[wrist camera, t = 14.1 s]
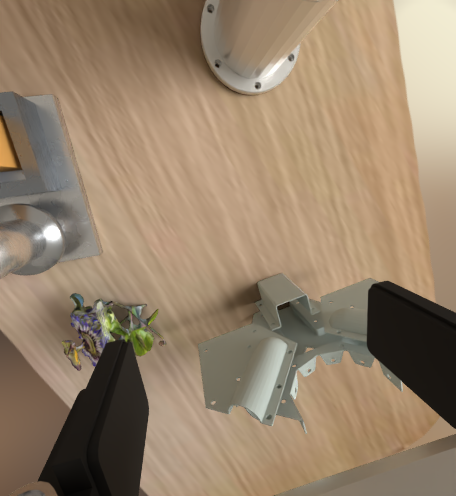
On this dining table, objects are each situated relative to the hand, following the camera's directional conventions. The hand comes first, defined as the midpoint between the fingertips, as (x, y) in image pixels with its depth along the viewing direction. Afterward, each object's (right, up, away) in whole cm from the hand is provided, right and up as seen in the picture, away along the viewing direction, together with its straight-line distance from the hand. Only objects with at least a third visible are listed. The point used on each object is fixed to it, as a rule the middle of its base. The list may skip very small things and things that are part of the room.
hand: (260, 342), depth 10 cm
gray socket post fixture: (-26, +11, +22) cm, 35 cm away
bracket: (+7, -4, +32) cm, 33 cm away
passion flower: (-17, -6, +28) cm, 34 cm away
